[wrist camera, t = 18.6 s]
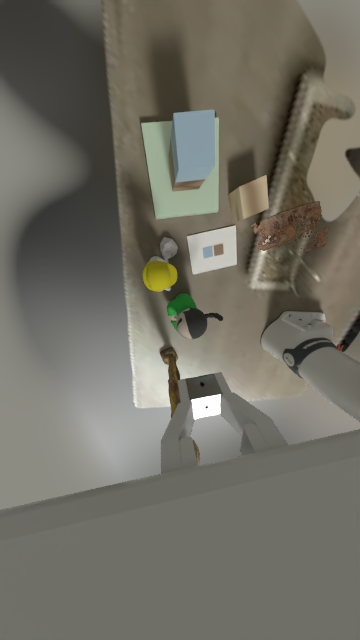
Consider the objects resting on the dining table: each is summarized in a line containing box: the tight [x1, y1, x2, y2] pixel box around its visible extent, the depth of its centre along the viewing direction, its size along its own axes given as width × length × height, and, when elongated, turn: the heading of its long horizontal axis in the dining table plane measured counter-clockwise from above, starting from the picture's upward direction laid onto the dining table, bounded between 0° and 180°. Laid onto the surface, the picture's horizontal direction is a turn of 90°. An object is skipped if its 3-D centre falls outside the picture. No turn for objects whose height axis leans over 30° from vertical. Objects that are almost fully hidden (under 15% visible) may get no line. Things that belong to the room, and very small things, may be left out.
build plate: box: [141, 118, 219, 219], centre depth 30 cm, size 14×14×1 cm
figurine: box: [143, 237, 178, 292], centre depth 31 cm, size 10×9×15 cm
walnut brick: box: [169, 138, 205, 192], centre depth 28 cm, size 6×6×5 cm
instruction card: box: [187, 225, 237, 274], centre depth 38 cm, size 12×9×1 cm
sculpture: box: [160, 348, 200, 466], centre depth 37 cm, size 7×6×30 cm
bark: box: [252, 201, 328, 264], centre depth 39 cm, size 22×12×1 cm, turn 111°
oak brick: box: [229, 175, 269, 222], centre depth 32 cm, size 6×6×5 cm
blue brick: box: [171, 110, 215, 183], centre depth 23 cm, size 6×6×5 cm
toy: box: [167, 293, 223, 339], centre depth 36 cm, size 10×11×15 cm
